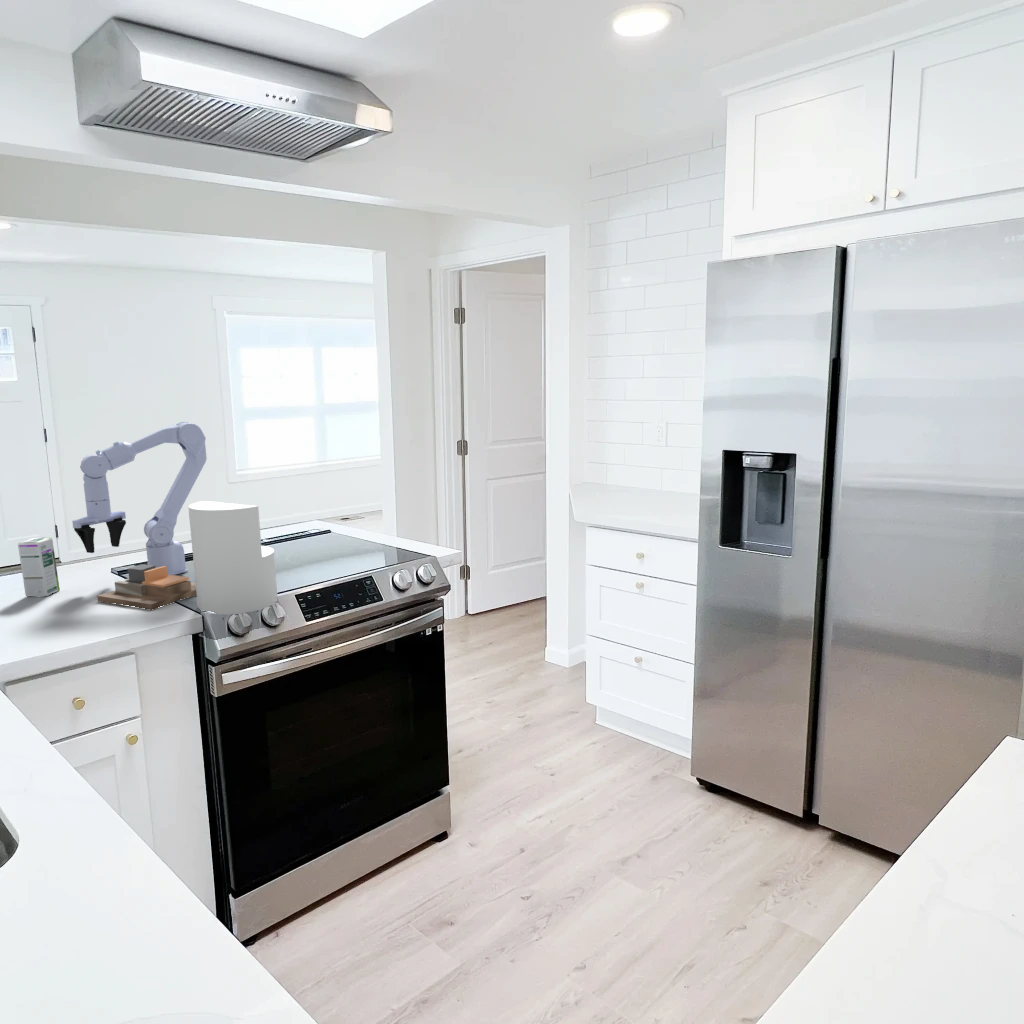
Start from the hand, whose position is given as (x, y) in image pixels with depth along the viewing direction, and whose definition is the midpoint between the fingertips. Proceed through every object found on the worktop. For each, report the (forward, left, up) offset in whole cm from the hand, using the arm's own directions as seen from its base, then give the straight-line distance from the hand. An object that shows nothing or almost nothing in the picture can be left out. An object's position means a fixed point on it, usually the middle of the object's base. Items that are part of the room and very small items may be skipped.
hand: (103, 549), depth 212 cm
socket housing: (+4, +23, -9) cm, 25 cm away
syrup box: (+14, -7, -10) cm, 18 cm away
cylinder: (0, +47, -10) cm, 48 cm away
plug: (+4, +18, -8) cm, 20 cm away
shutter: (+4, +27, -5) cm, 28 cm away
